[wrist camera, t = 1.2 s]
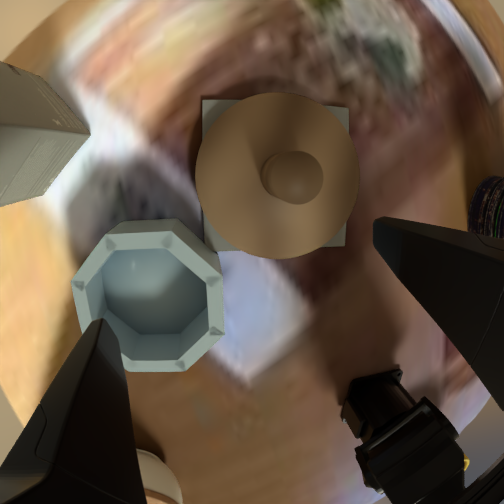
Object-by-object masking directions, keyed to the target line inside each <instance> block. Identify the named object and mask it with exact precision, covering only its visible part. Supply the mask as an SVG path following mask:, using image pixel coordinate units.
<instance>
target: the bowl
mask: <svg viewBox="0 0 504 504" xmlns="http://www.w3.org/2000/svg"><path fill="white" fill-rule="evenodd" d="M222 277H223V276H222V271H221V265H220V260H219V256H218V255H217V254H216V253H215V252H212V251H211V250H210V249H209V248H208V247H207V246H206V245H205V244H204V242H203V241H202V240H200V239H199V238H198V237H197V236H196V235H195V234H194V233H193V232H192V231H191V230H189V229H188V228H187V227H186V226H185V225H184V224H183V223H182V222H181V221H180V220H178V218H174V219H154V220H135V221H122V222H121V223H119V224H118V225H117V226H115V227H114V228H113V229H111V230H110V231H109V232H107V233H106V234H105V235H104V237H103V238H102V239H101V241H100V242H99V243H98V245H97V246H96V247H95V248H94V250H93V251H92V252H91V254H90V255H89V257H88V258H87V259H86V261H85V262H84V263H83V265H82V266H81V268H80V269H79V270H78V272H77V273H76V275H75V276H74V277H73V279H72V280H71V285H72V291H73V296H74V300H75V305H76V309H77V314H78V318H79V322H80V326H81V330H82V334H83V333H84V331H85V330H86V329H87V327H88V326H89V324H90V323H91V321H93V320H96V319H99V318H104V319H106V321H107V322H108V324H109V325H110V327H111V328H112V330H113V331H114V333H115V335H116V336H117V338H118V341H119V345H120V350H121V356H122V361H123V366H124V368H125V369H126V370H128V371H129V372H173V371H186V370H187V369H188V368H189V367H190V366H191V365H193V364H194V363H195V362H196V361H197V360H198V359H199V358H200V357H201V356H202V355H203V354H204V353H205V352H207V351H208V350H209V349H210V348H211V347H212V346H213V345H214V344H215V343H216V342H217V341H218V340H219V339H220V338H221V337H222V336H224V335H225V332H224V308H223V282H222Z"/></svg>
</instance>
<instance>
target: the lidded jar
mask: <svg viewBox="0 0 504 504" xmlns="http://www.w3.org/2000/svg"><path fill="white" fill-rule="evenodd" d="M136 451H137V456H138V462H139V467H140V472H141V477H142V482H143V486H144V491H145V495H146V499H147V503H148V504H183V502H182V494H181V489H180V486H179V483H178V481H177V479H176V477H175V475H174V474H173V472H172V471H171V470H170V468H169V467H167V466H166V465H165V464H164V463H163V462H162V461H161V459H160V458H159V457H157V456H156V455H154V454H152V453H150V452H148V451H145V450H141V449H136Z"/></svg>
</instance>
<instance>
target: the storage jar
mask: <svg viewBox="0 0 504 504" xmlns="http://www.w3.org/2000/svg"><path fill="white" fill-rule="evenodd" d="M468 232H471V233H474V234H480V235H485V236H490V237H495V238H500V239H504V177H503V178H502V177H498V176H489V177H487V178H485V179H484V180H483V181H482V182H481V183H480V184H479V186H478V187H477V189H476V191H475V193H474V195H473V198H472V201H471V204H470V208H469V214H468Z"/></svg>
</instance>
